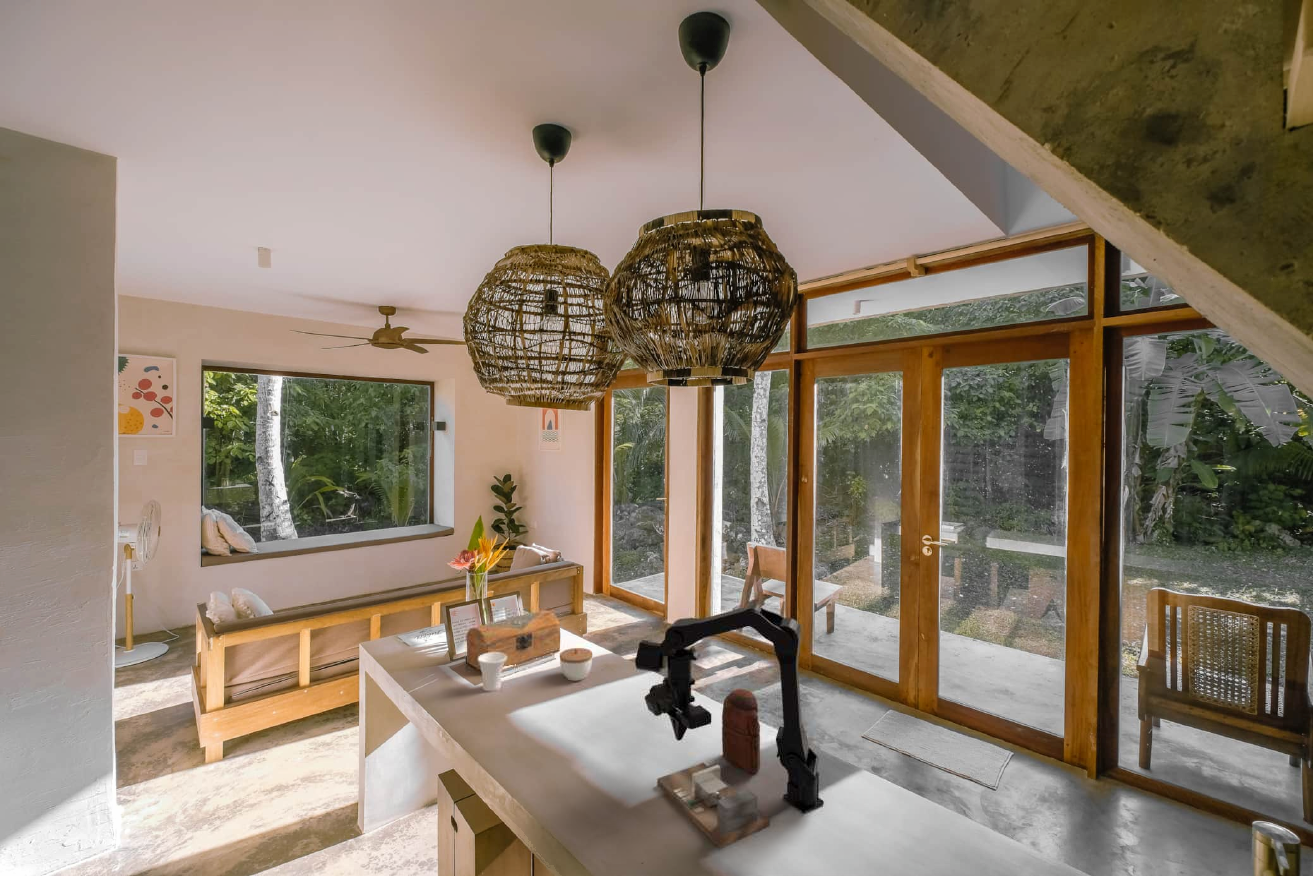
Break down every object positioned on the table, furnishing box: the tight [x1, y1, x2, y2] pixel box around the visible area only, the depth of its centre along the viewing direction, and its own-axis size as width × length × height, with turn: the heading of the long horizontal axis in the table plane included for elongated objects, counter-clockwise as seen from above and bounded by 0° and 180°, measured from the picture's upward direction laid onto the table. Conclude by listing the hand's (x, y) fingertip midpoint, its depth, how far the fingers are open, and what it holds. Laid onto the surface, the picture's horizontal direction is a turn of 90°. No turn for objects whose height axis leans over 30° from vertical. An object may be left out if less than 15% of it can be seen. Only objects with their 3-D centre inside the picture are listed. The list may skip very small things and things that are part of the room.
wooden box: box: [465, 609, 561, 671], centre depth 214 cm, size 30×16×14 cm, turn 134°
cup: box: [478, 652, 507, 692], centre depth 189 cm, size 9×9×10 cm
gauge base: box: [656, 762, 771, 849], centre depth 131 cm, size 13×24×6 cm, turn 31°
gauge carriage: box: [690, 764, 728, 807], centre depth 128 cm, size 9×9×5 cm
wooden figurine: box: [721, 688, 761, 775], centre depth 147 cm, size 12×6×18 cm, turn 42°
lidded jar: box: [559, 647, 593, 682], centre depth 197 cm, size 11×11×9 cm
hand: (678, 739), depth 141 cm, fingers closed
